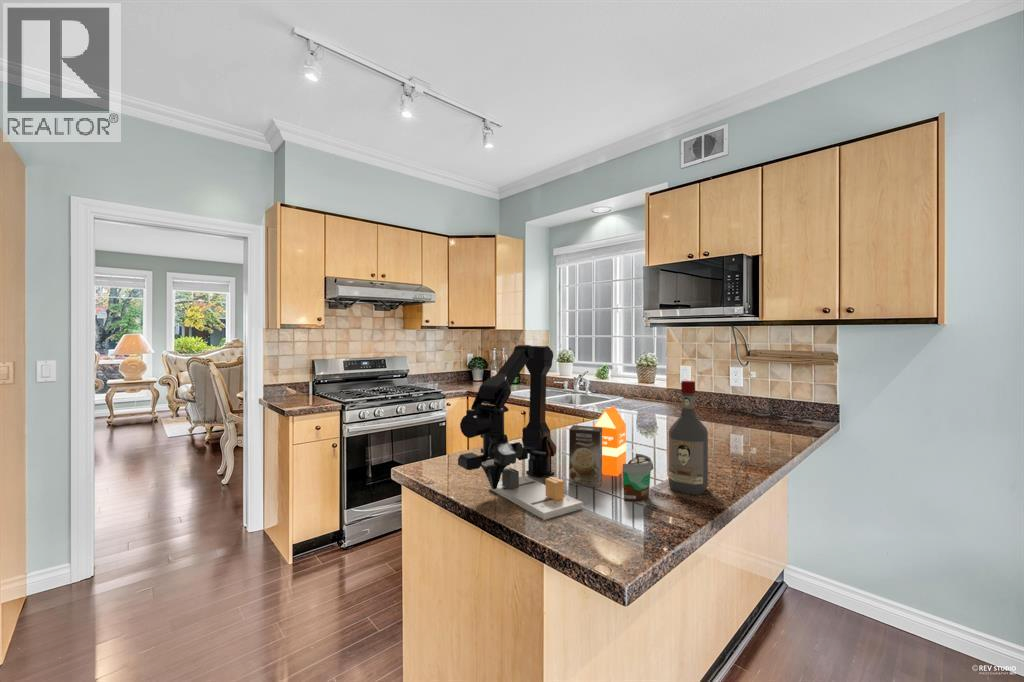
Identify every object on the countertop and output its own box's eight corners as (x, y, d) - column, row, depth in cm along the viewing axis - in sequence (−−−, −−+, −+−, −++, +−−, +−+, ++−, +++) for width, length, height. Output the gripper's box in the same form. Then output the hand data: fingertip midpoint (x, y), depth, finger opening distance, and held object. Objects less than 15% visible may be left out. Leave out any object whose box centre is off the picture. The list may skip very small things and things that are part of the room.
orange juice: (626, 469, 143) (626, 406, 143) (617, 476, 136) (617, 411, 136) (603, 465, 148) (603, 404, 147) (592, 472, 140) (592, 408, 140)
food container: (646, 507, 112) (646, 467, 112) (622, 502, 115) (622, 464, 115) (658, 492, 122) (658, 455, 122) (636, 488, 126) (636, 452, 125)
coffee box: (567, 484, 129) (567, 429, 129) (572, 477, 135) (572, 424, 135) (600, 487, 126) (599, 431, 126) (603, 480, 132) (602, 426, 132)
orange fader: (554, 493, 117) (554, 476, 116) (564, 498, 113) (563, 480, 113) (545, 495, 115) (545, 478, 115) (555, 500, 112) (555, 482, 112)
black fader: (510, 483, 125) (510, 467, 125) (518, 487, 121) (518, 470, 121) (502, 485, 123) (502, 468, 123) (510, 489, 120) (510, 472, 120)
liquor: (676, 481, 131) (675, 379, 131) (709, 487, 126) (709, 380, 126) (666, 490, 124) (666, 382, 123) (701, 497, 119) (701, 384, 118)
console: (524, 481, 132) (524, 475, 132) (582, 508, 111) (582, 501, 111) (489, 489, 126) (489, 483, 126) (544, 519, 105) (544, 512, 105)
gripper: (477, 441, 107) (478, 506, 107) (539, 431, 117) (540, 490, 118) (456, 432, 116) (457, 492, 117) (516, 424, 127) (516, 479, 127)
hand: (494, 488), depth 119 cm, fingers closed
